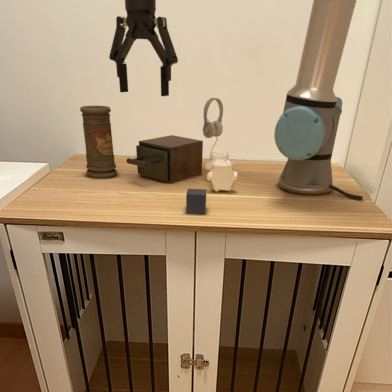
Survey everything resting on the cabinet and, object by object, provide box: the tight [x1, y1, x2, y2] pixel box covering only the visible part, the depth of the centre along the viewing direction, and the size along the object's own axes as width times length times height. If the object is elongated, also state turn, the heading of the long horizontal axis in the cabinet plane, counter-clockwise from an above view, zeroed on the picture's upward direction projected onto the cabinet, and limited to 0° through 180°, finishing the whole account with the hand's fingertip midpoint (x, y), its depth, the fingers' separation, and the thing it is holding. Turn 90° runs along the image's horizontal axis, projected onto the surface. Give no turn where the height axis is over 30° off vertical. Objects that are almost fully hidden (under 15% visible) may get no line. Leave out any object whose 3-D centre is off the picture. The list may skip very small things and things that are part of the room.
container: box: [79, 105, 118, 179], centre depth 120 cm, size 9×9×18 cm
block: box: [185, 188, 207, 215], centre depth 99 cm, size 5×5×5 cm
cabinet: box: [138, 134, 204, 184], centre depth 124 cm, size 15×13×10 cm
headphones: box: [202, 97, 224, 152], centre depth 128 cm, size 8×4×20 cm, turn 139°
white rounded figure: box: [204, 150, 239, 193], centre depth 116 cm, size 15×9×8 cm, turn 2°
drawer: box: [126, 144, 169, 181], centre depth 121 cm, size 20×11×8 cm, turn 141°
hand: (144, 94), depth 112 cm, fingers open, 13 cm apart
